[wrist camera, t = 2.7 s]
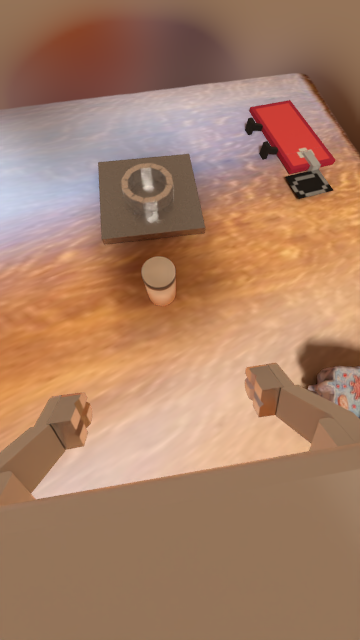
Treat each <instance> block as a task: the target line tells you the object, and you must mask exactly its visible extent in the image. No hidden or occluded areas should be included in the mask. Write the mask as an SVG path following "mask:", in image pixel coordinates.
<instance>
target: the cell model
mask: <svg viewBox="0 0 360 640" xmlns="http://www.w3.org/2000/svg"><path fill="white" fill-rule="evenodd" d="M317 380H318V383H317V384H316V385H309V386H308V390H310V391H314V392H315V393H316V394H317V395H319V396H321V397H323V398H325V399H327V400H329V401H331V402H333V403H335V404H337V405H339V406H341V407H343V408H345V409H347V410H349V411H351V412H353V413H354V414H355V415H356V416H357V417H358V418H359V419H360V366H356V367H344V366H334V367H331V368H325V369H322V370H321V371H320V373H318V375H317Z"/></svg>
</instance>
